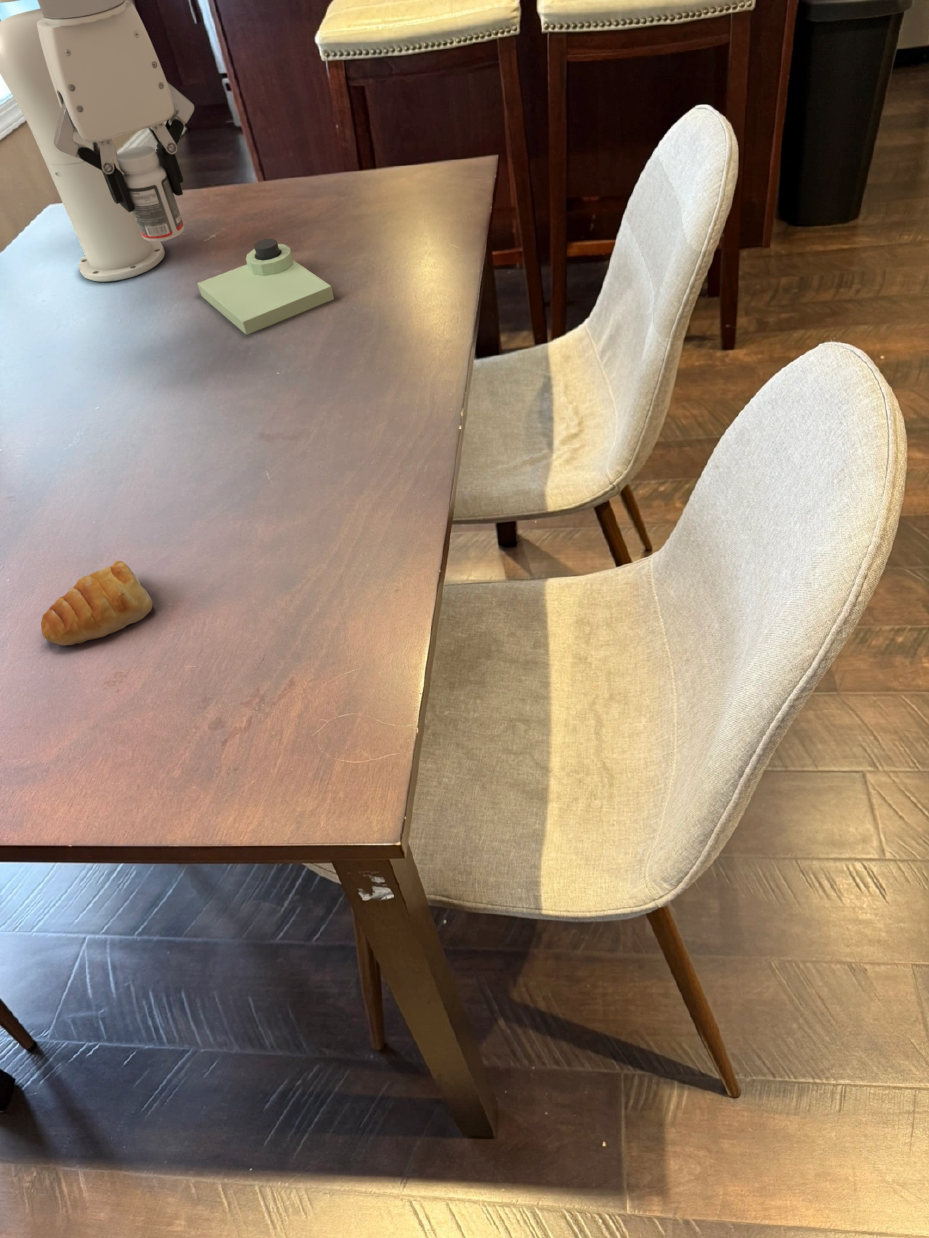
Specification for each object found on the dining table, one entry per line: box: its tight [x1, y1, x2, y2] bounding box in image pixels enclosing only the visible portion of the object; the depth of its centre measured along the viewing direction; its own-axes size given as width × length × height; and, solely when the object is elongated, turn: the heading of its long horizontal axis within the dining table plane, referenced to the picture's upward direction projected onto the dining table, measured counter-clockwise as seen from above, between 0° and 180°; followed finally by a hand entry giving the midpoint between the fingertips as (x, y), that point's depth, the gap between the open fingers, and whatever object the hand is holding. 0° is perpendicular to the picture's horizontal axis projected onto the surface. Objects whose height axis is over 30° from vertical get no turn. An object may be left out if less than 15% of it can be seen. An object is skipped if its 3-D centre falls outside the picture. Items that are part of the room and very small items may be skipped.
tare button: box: [253, 238, 280, 260], centre depth 118 cm, size 3×3×2 cm
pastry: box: [40, 560, 153, 646], centre depth 76 cm, size 9×7×4 cm
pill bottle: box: [116, 145, 185, 243], centre depth 92 cm, size 5×5×8 cm
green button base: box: [196, 243, 335, 336], centre depth 116 cm, size 15×13×4 cm
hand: (151, 198), depth 92 cm, fingers closed on pill bottle, 4 cm apart
